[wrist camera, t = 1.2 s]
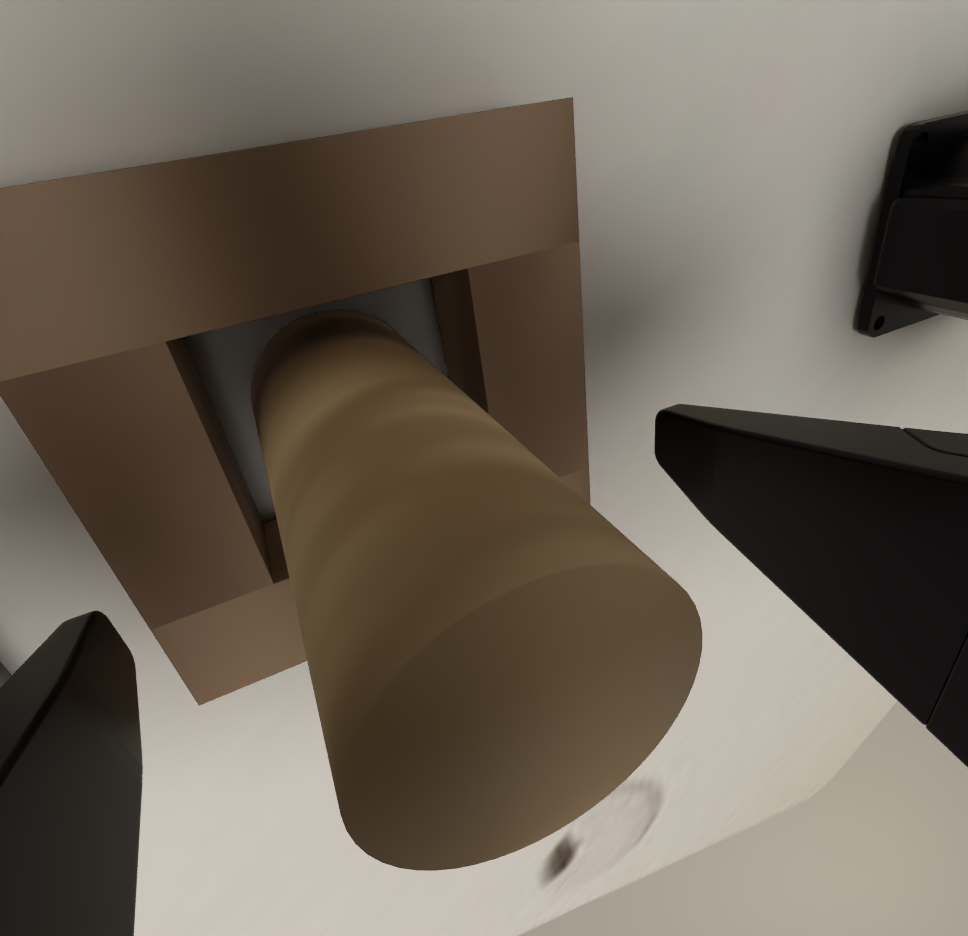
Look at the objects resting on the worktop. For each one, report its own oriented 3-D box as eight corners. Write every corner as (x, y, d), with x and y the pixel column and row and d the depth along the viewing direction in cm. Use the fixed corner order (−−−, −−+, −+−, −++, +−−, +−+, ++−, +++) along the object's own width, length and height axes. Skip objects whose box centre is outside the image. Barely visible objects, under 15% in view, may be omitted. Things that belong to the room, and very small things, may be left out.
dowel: (402, 291, 13) (716, 502, 5) (432, 440, 15) (691, 753, 7) (223, 335, 12) (272, 690, 4) (283, 489, 14) (394, 923, 6)
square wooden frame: (512, 106, 12) (572, 97, 10) (547, 498, 18) (592, 541, 16) (-53, 196, 9) (-120, 207, 7) (198, 631, 15) (199, 705, 13)
